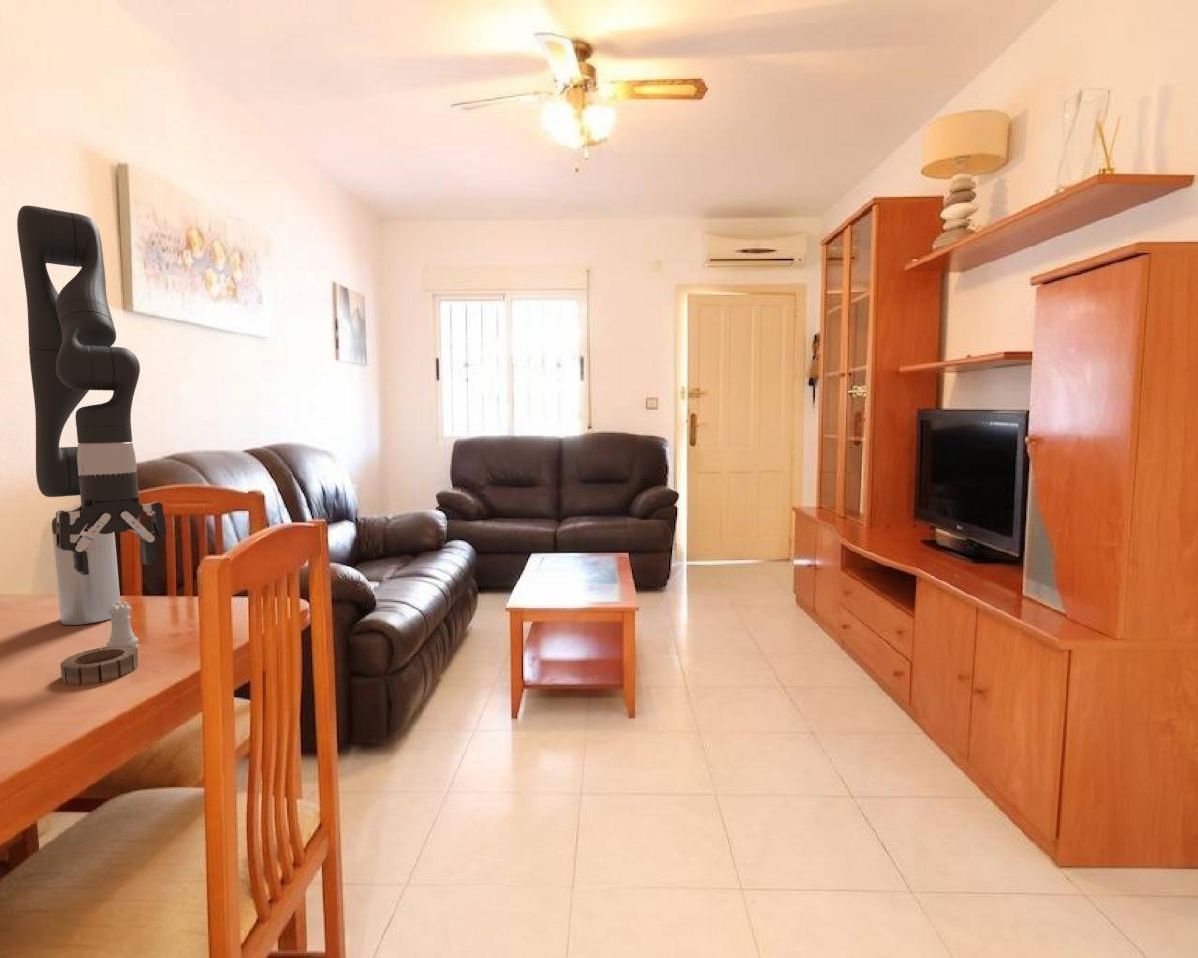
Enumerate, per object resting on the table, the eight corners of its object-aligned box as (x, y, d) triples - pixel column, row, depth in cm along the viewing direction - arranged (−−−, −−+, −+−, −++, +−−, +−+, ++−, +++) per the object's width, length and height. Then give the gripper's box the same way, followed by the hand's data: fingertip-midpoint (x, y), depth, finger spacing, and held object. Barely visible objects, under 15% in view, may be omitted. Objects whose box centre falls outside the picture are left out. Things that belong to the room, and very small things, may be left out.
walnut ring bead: (55, 674, 97) (54, 658, 97) (126, 656, 104) (125, 641, 104) (72, 689, 92) (70, 673, 91) (146, 669, 99) (144, 654, 98)
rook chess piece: (122, 657, 104) (117, 609, 103) (99, 655, 105) (95, 607, 104) (146, 647, 108) (142, 601, 108) (124, 645, 109) (120, 599, 108)
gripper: (151, 467, 112) (158, 558, 113) (45, 473, 100) (55, 574, 102) (166, 468, 107) (174, 563, 108) (58, 475, 96) (68, 581, 97)
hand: (116, 569), depth 105 cm, fingers open, 8 cm apart
